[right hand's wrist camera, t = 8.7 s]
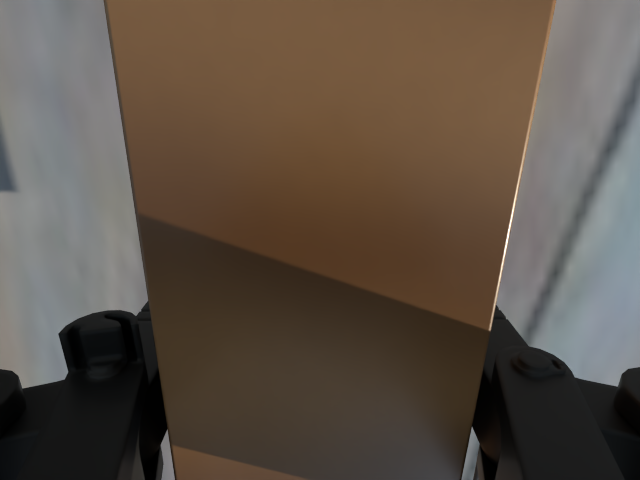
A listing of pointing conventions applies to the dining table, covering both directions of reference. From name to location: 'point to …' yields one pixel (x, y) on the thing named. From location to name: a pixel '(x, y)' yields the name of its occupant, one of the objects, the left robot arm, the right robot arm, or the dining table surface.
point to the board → (324, 221)
